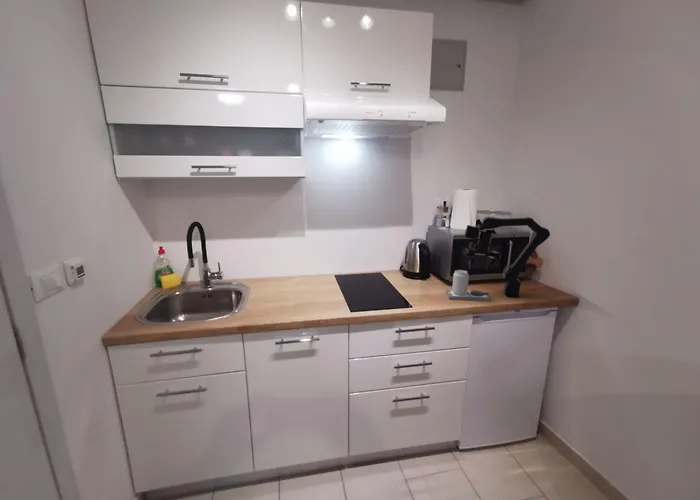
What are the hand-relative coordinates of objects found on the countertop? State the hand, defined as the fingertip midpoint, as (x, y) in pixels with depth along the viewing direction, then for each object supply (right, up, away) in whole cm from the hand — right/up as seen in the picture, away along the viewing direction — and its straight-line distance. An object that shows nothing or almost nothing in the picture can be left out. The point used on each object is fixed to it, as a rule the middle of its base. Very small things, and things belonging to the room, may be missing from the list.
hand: (478, 269), depth 174 cm
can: (-11, -13, -4) cm, 17 cm away
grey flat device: (-7, -14, -4) cm, 16 cm away
